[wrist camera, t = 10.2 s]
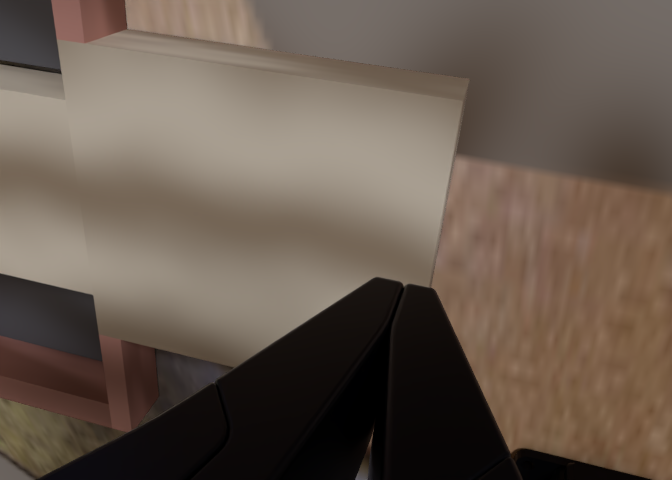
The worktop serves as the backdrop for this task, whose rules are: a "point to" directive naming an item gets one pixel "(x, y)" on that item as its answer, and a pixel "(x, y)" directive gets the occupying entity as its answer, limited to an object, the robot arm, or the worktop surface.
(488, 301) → the worktop surface
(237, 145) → the trap deck
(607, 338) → the worktop surface
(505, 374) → the worktop surface
